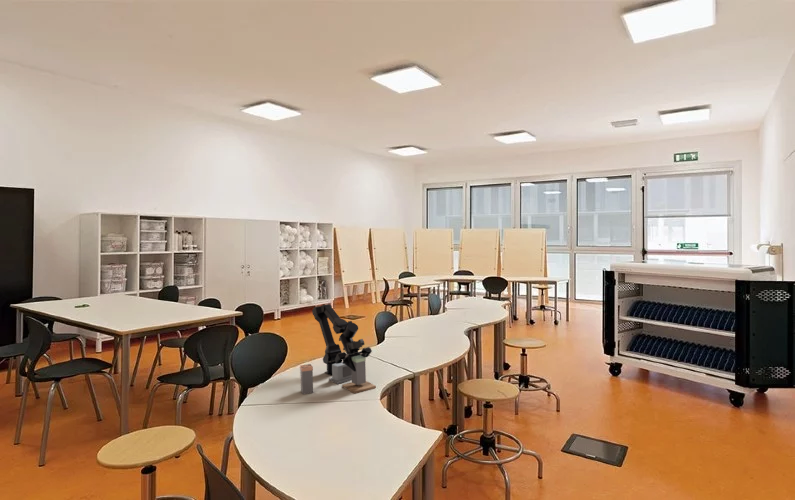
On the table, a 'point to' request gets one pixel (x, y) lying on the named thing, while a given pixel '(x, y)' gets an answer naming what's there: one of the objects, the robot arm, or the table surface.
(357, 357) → the block
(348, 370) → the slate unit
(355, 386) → the walnut pad
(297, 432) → the table surface
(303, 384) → the block
